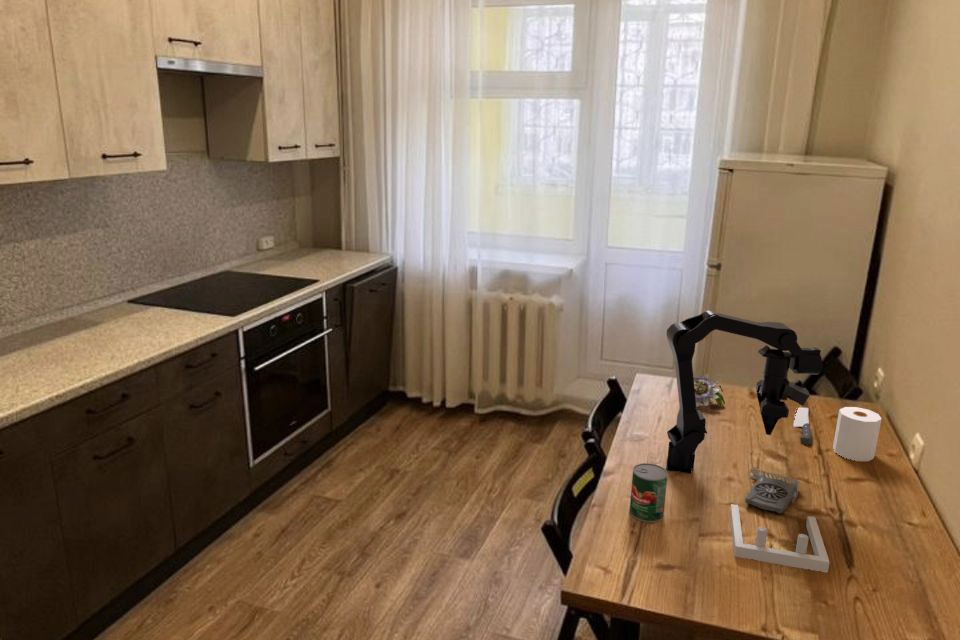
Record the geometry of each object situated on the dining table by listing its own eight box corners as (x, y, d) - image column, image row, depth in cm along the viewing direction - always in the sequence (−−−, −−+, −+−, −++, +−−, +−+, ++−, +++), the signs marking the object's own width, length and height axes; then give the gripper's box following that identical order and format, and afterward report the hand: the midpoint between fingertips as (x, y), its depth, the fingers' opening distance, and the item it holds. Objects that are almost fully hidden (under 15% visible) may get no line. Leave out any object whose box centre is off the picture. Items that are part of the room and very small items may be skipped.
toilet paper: (834, 457, 192) (841, 417, 188) (831, 442, 201) (838, 404, 198) (875, 465, 188) (883, 424, 185) (870, 449, 197) (878, 409, 194)
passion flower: (695, 422, 226) (676, 392, 225) (702, 405, 235) (683, 376, 233) (727, 411, 219) (707, 380, 218) (732, 394, 228) (713, 364, 227)
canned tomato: (665, 508, 165) (669, 466, 162) (662, 525, 158) (666, 482, 155) (631, 501, 168) (635, 460, 164) (627, 518, 160) (630, 476, 157)
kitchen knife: (791, 404, 226) (808, 403, 224) (792, 411, 227) (809, 410, 224) (792, 438, 200) (811, 437, 198) (793, 447, 200) (812, 446, 198)
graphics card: (752, 465, 180) (801, 479, 173) (750, 478, 181) (799, 492, 174) (732, 492, 167) (785, 508, 160) (731, 506, 168) (783, 522, 161)
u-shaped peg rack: (734, 556, 147) (737, 531, 145) (729, 513, 163) (732, 490, 162) (827, 572, 142) (832, 547, 141) (813, 526, 158) (817, 503, 157)
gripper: (815, 389, 166) (805, 448, 170) (804, 364, 183) (795, 419, 188) (766, 383, 169) (757, 441, 173) (759, 359, 186) (751, 413, 191)
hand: (766, 428), depth 181 cm, fingers open, 8 cm apart
